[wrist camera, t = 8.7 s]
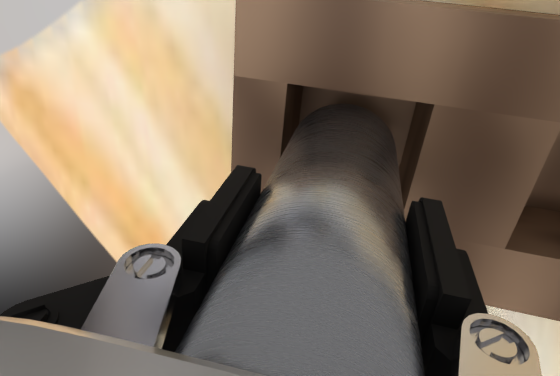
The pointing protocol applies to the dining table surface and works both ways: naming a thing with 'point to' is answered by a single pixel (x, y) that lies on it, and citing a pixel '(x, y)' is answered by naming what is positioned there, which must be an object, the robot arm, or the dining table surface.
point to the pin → (319, 263)
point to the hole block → (425, 116)
